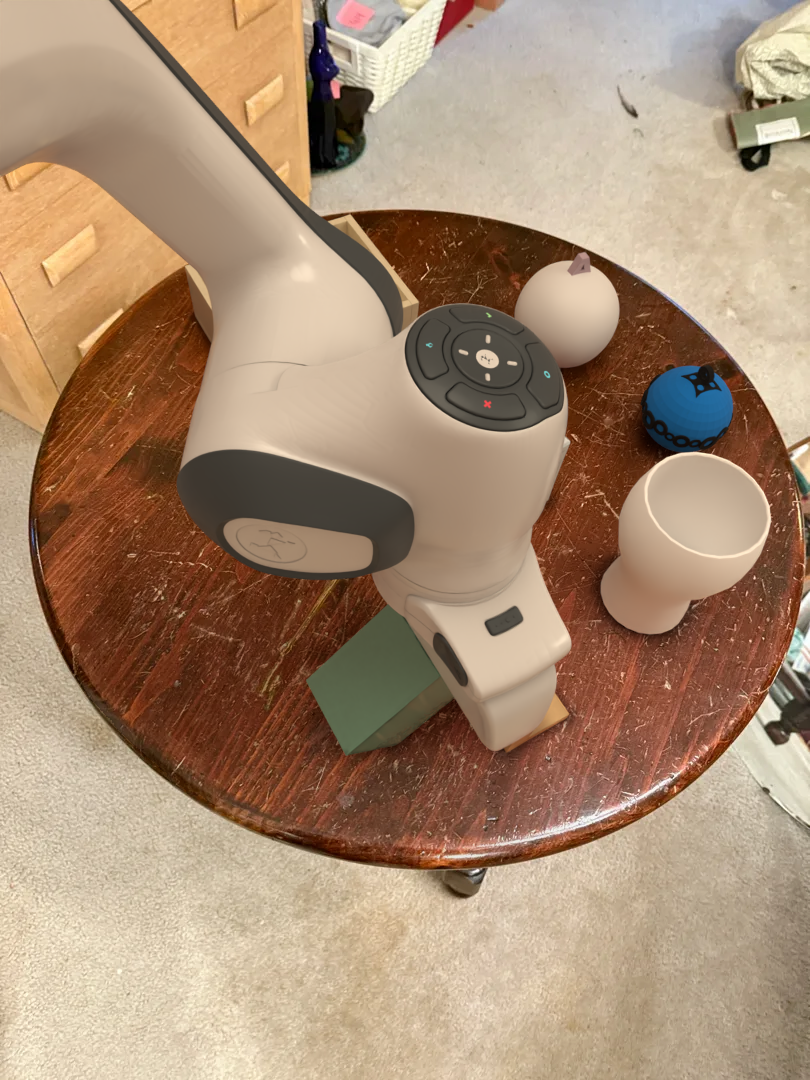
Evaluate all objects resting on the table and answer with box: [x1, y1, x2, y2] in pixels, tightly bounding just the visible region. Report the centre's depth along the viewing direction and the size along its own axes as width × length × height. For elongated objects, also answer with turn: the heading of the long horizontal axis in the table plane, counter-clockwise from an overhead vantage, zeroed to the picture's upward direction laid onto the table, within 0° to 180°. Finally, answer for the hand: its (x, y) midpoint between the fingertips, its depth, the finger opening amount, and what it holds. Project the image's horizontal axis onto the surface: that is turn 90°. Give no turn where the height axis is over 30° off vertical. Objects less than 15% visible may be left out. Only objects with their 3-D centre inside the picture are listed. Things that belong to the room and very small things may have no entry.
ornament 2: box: [640, 364, 734, 453], centre depth 78 cm, size 9×9×10 cm
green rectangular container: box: [305, 603, 455, 757], centre depth 61 cm, size 12×7×12 cm, turn 120°
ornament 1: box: [513, 251, 620, 369], centre depth 83 cm, size 10×10×12 cm
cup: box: [600, 451, 772, 635], centre depth 67 cm, size 11×11×15 cm
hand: (426, 644), depth 59 cm, fingers closed
